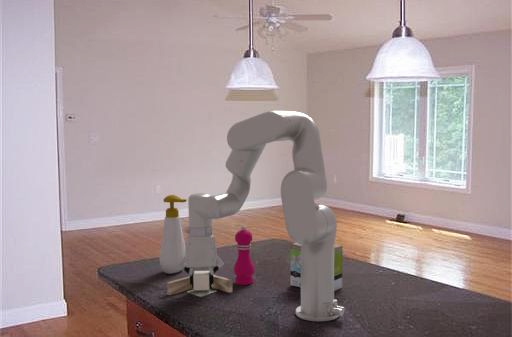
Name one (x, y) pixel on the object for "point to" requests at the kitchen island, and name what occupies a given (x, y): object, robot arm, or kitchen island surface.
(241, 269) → the pepper mill
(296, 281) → the tea box
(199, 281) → the cube
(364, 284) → the kitchen island surface
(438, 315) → the kitchen island surface
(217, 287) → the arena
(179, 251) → the soap bottle
